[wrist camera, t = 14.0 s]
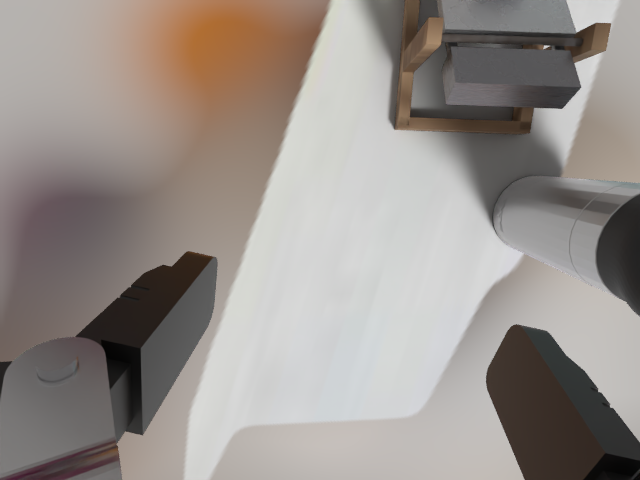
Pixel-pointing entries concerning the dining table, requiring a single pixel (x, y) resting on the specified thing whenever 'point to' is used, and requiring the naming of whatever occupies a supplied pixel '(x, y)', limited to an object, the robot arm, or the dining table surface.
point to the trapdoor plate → (508, 54)
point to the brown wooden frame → (431, 36)
